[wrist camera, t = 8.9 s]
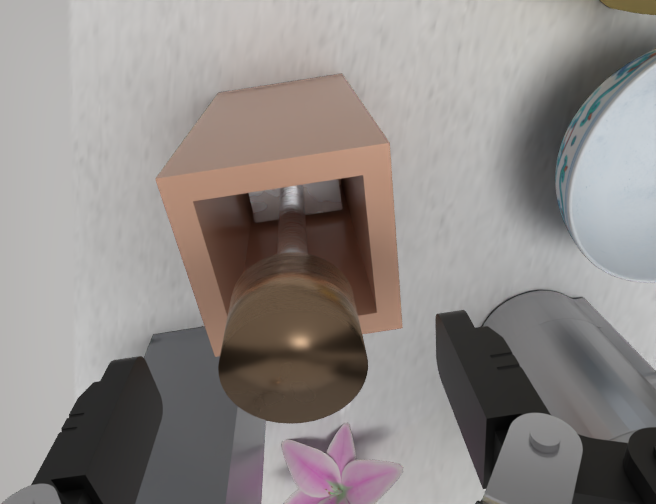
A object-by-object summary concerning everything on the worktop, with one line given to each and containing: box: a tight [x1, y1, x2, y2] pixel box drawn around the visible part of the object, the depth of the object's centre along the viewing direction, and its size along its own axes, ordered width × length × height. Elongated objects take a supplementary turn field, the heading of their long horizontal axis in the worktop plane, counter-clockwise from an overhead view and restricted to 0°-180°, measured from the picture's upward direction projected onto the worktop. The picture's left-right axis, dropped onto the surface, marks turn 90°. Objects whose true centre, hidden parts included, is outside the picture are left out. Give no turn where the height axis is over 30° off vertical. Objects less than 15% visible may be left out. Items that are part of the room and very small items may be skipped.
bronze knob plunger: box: [218, 179, 368, 423], centre depth 20 cm, size 5×5×16 cm
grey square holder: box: [135, 327, 266, 504], centre depth 33 cm, size 8×8×16 cm
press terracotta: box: [156, 74, 402, 357], centre depth 25 cm, size 8×8×16 cm
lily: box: [281, 423, 404, 504], centre depth 44 cm, size 12×12×10 cm
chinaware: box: [555, 49, 656, 283], centre depth 30 cm, size 15×15×8 cm
